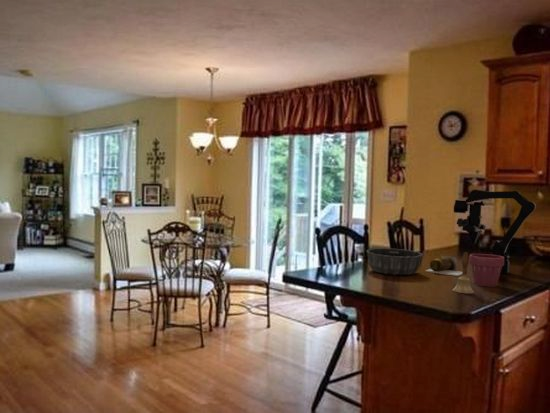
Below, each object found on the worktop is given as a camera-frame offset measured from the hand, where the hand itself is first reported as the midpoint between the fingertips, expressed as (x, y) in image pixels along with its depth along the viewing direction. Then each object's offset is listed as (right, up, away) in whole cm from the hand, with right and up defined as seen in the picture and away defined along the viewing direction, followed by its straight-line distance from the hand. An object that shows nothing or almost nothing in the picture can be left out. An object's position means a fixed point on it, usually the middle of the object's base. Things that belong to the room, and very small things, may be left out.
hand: (473, 244), depth 271 cm
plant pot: (-10, -15, -41) cm, 45 cm away
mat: (-19, -13, -13) cm, 26 cm away
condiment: (-15, -9, -7) cm, 19 cm away
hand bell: (-26, -15, -58) cm, 65 cm away
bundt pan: (-45, -13, -18) cm, 50 cm away
